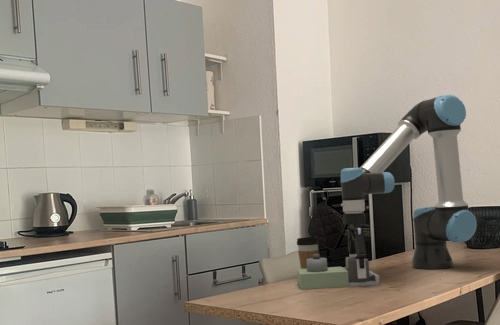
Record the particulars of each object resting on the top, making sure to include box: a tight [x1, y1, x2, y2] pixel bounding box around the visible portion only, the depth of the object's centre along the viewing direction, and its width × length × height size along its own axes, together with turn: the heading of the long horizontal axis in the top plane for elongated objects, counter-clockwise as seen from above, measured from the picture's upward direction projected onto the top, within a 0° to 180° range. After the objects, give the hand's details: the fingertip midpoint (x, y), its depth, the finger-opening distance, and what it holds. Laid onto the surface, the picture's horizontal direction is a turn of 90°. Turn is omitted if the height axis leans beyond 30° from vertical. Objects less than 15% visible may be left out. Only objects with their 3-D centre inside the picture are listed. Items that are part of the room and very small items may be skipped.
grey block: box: [345, 256, 370, 283], centre depth 193 cm, size 7×4×9 cm, turn 91°
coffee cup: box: [296, 236, 320, 269], centre depth 212 cm, size 8×8×15 cm
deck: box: [296, 253, 349, 291], centre depth 193 cm, size 16×12×11 cm
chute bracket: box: [349, 270, 381, 288], centre depth 193 cm, size 10×13×3 cm
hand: (358, 275), depth 193 cm, fingers open, 12 cm apart
